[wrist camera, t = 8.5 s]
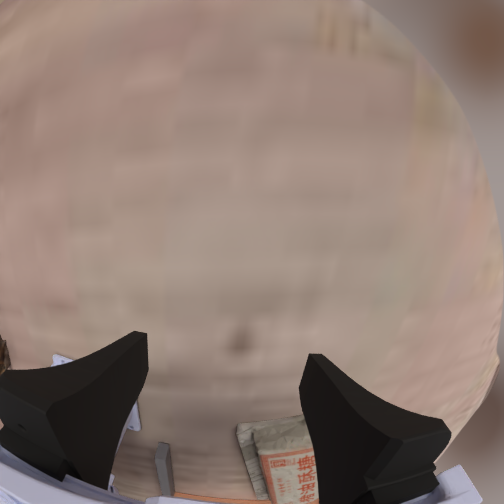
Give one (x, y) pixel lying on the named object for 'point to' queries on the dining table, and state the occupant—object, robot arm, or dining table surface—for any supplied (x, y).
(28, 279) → the dining table surface
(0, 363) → the food dish
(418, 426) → the robot arm
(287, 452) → the packaged product
